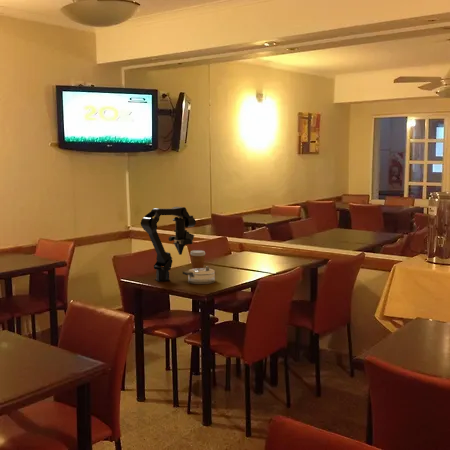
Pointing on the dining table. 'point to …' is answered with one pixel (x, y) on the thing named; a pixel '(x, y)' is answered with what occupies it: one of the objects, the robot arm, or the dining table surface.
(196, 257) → the disposable coffee cup
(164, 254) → the robot arm
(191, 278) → the pot
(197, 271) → the lid
